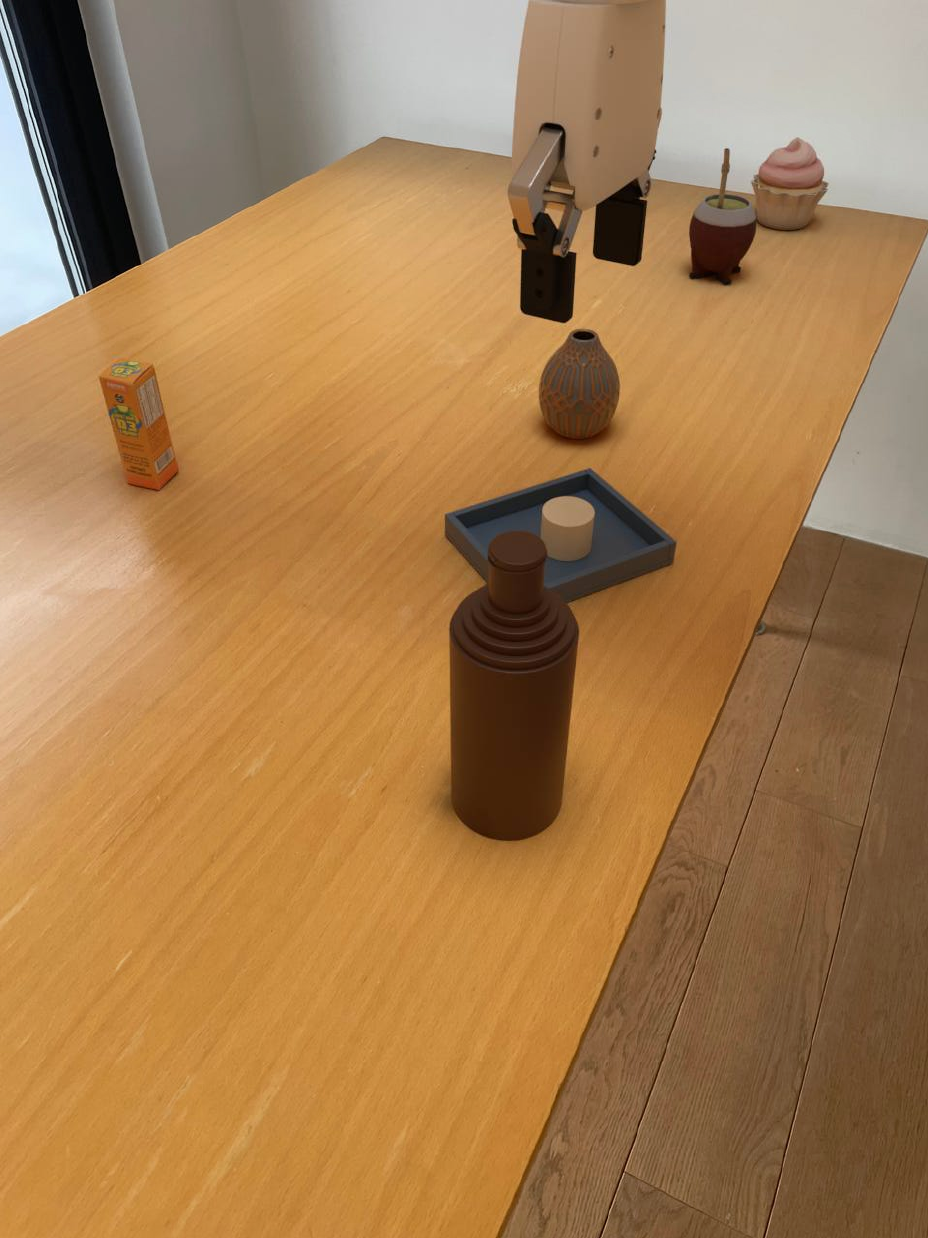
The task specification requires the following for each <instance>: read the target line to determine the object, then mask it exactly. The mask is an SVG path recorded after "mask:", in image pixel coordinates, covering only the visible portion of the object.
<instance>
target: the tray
mask: <svg viewBox="0 0 928 1238" xmlns="http://www.w3.org/2000/svg"><path fill="white" fill-rule="evenodd" d="M562 496H571V497H577V498H580V499H583V500H585V501H587V502H588V503H590V504H591V505H592V507H593V508H594V511H595V515H594V525H593V534H592V543H591V550H590V552H589V553H588V555H587V556H585V557H584V558H582V559H579V560H576V561H559V560H555V559H552V558H550V557H548V556H547V560H546V563H545V571H544V586H545V587H547V588H548V589H549V590H551V591H552V592H554V593H555V594H556V595H558V596H559V597H561V598H562V599H563V600H564V601H565V602H566V603H567V604H568V603H571V602H573V601H576V600H578V599H581V598H583V597H584V598H585V597H587V596H589V595H592V594H595V593H597V592H601V591H602V590H605V589H608V588H611V587H613V586H616V585H618V584H621V583H624V582H627V581H629V580H632V579H635V578H638V577H640V576H643V575H645V574H648V573H652V572H653V571H656V570H658V569H662V568H664V567H667V566H670V565H672V564H674V560H675V554H676V549H677V544H678V541H677V540H675V539H674V538H673V537H672V536H671V535H669V534H668V533H667V532H666V531H665V530H664V529H662V528H661V526H659V525H658V524H657V523H655V522H654V521H653V520H652V519H651V518H650V517H648V516H647V515H646V514H645V513H644V512H643V511H641V510H640V509H639V508H637V506H635V505H634V504H633V503H632V502H631V501H630V500H628V499H627V498H626V497H625V496H624V495H623V494H622V493H620V492H619V491H618V490H617V489H616V488H615V487H613V486H612V485H611V484H610V483H609V482H607V480H605V479H604V478H603V477H601V476H600V474H598V473H596V471H595V470H593V469H592V468H591V467H589V468H585V469H582V470H578V471H576V472H573V473H569V474H566V475H563V476H560V477H558V478H557V477H556V478H554V479H551V480H548V481H545V482H542V483H538V484H536V485H532V486H529V487H526V488H523V489H520V490H515V491H513V492H510V493H507V494H504V495H501V496H497V497H494V498H492V499H488V500H485V501H482V502H479V503H475V504H472V505H469V506H466V507H462V508H460V509H457V510H453V511H451V512H447V513H444V536H445V537H446V539H448V541H449V542H451V544H452V545H453V546H454V547H455V548H456V550H458V552H459V553H460V554H461V555H462V556H463V558H465V559H466V561H467V562H468V563H469V564H470V565H471V566H472V568H474V570H475V571H476V572H477V573H478V574H479V575H480V576H481V577H482V579H483V580H484V581H485V582H486V584H488V583H489V562H488V556H487V554H488V546H489V543H490V542H491V541H492V540H493V539H494V538H495V537H496V536H497V535H499V534H501V533H504V532H508V531H525V532H529V533H532V534H535V535H537V536H538V537H539V538H541V523H542V509H543V506H544V504H545V503H546V502H548V501H549V500H551V499H553V498H557V497H562Z"/></svg>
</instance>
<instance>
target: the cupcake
mask: <svg viewBox="0 0 928 1238" xmlns="http://www.w3.org/2000/svg"><path fill="white" fill-rule="evenodd" d="M824 177H825V167H824V165H823V163H822V161H821V159H820V158H818V156H817V152H816V150H815V149H814V147H813V146H812V145H811V144H810V143H809V142H807V141H805V140H804V139H802V138H800V137H798V136H797V137H795V138H794V139H792V140H791V141H790V142H789V143H788V145H787V146H784V147H779V148H776V149H774V150H773V151H771V153H770V154H769V156H768V157H767V158H766V159H765V161H764V162H763V163H762V164H760V166H759V169H758V173H756V174H753V179H752V180H750V183H751V187H752V190H753V193H754V196H755V214H756V221H757V222H758V223H759V224H761V225H762V226H764V227H767V228H770V229H775V230H780V231H794V230H800V229H804V228H805V227H806V226H808V224H809V223H810V221H811V220H812V217H813V215H814V213H815V211H816V208H817V206H818V204H819V202H820V201H821V200H822V198H823V197H824V196H825V194H826V193H828V191H829V188H828V186H830V185H829V184H830V183H829V182H827V181H825V180H824Z"/></svg>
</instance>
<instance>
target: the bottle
mask: <svg viewBox="0 0 928 1238" xmlns="http://www.w3.org/2000/svg"><path fill="white" fill-rule="evenodd" d="M487 556H488V562H489V583H486V584H483V586H481V587H479V588H477V589H476V590H474V591H472V592H471V593H469V594H468V595H467V596H465V598H463V599H462V600H461V601H460V603H459V604H458V606H457V608H456V609H455V611H454V612H453V614H452V615H451V617H450V621H449V627H448V635H449V636H448V637H449V638H448V641H449V643H448V644H449V712H450V713H449V720H450V721H449V723H450V724H449V725H450V730H449V731H450V792H451V793H450V795H451V804H452V807H453V809H454V811H455V813H456V815H457V816H458V818H459V819H460V821H461V822H462V823H463V824H464V825H466V827H468V828H469V829H470V830H472V831H473V832H475V833H477V834H479V835H481V836H484V837H487V838H490V839H494V840H500V841H519V840H522V839H523V840H524V839H527V838H530V837H533V836H535V835H537V834H539V833H541V832H543V831H545V829H547V828H548V827H549V826H551V824H552V823H553V822H554V821H555V819H556V818H557V816H558V815H559V812H560V811H561V807H562V803H563V795H564V794H563V793H564V784H565V775H566V765H567V757H568V746H569V738H570V737H569V736H570V727H571V717H572V716H571V715H572V707H573V696H574V688H575V687H574V686H575V679H576V678H575V677H576V668H577V659H578V658H577V657H578V647H579V639H580V627H579V623H578V620H577V618H576V616H575V615H574V612H573V610H572V608H571V607H570V605H569V604H568V603H566V602H565V601H564V600H563V599H562V598H561V597H559V596H558V595H556V594H555V593H554V592H552V591H551V590H549V589H548V588H547V587H545V586H544V571H545V563H546V560H547V556H548V554H547V549H546V546H545V543H544V542H543V540H542V539H541V538H539V537H538V536H537V535H535V534H532V533H529V532H525V531H508V532H504V533H501V534H499V535H497V536H496V537H495V538H494V539H493V540H492V541H491V542H490V543H489V546H488V554H487Z"/></svg>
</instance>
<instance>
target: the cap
mask: <svg viewBox="0 0 928 1238" xmlns="http://www.w3.org/2000/svg"><path fill="white" fill-rule="evenodd" d="M594 515H595V511H594V508H593V507H592V505H591V504H590V503H588V502H587V501H585V500H583V499H580V498H577V497H571V496H562V497H557V498H553V499H551V500H549V501H548V502H546V503H545V504H544V506H543V509H542V523H541V539H542V540H543V542H544V543H545V546H546V549H547V554H548V557H550V558H552V559H555V560H559V561H576V560H579V559H582V558H584V557H585V556H587V555H588V553H589V552H590V550H591V543H592V534H593V525H594Z"/></svg>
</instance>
